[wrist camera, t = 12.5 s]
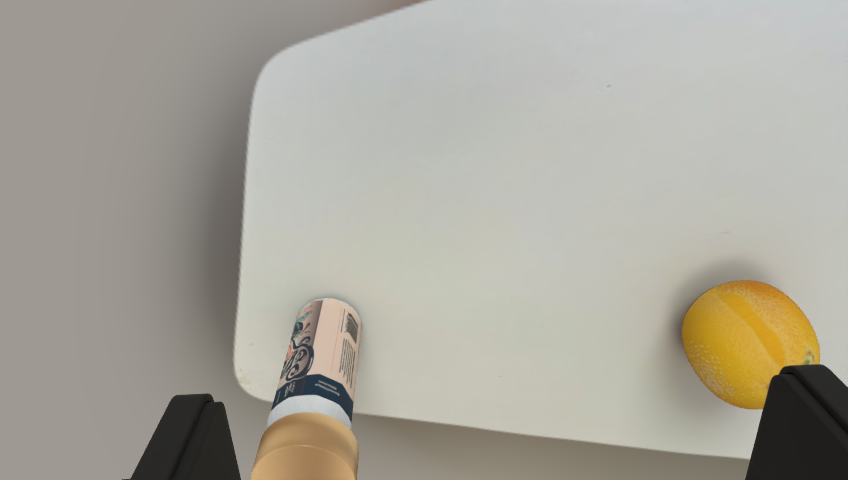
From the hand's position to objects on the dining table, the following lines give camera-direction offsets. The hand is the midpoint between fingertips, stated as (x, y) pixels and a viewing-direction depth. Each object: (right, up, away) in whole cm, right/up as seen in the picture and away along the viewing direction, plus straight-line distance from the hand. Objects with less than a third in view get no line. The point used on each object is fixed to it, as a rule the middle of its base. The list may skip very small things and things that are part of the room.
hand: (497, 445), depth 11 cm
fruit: (+21, -2, +35) cm, 41 cm away
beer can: (-8, -2, +35) cm, 36 cm away
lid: (-8, -8, +24) cm, 26 cm away
